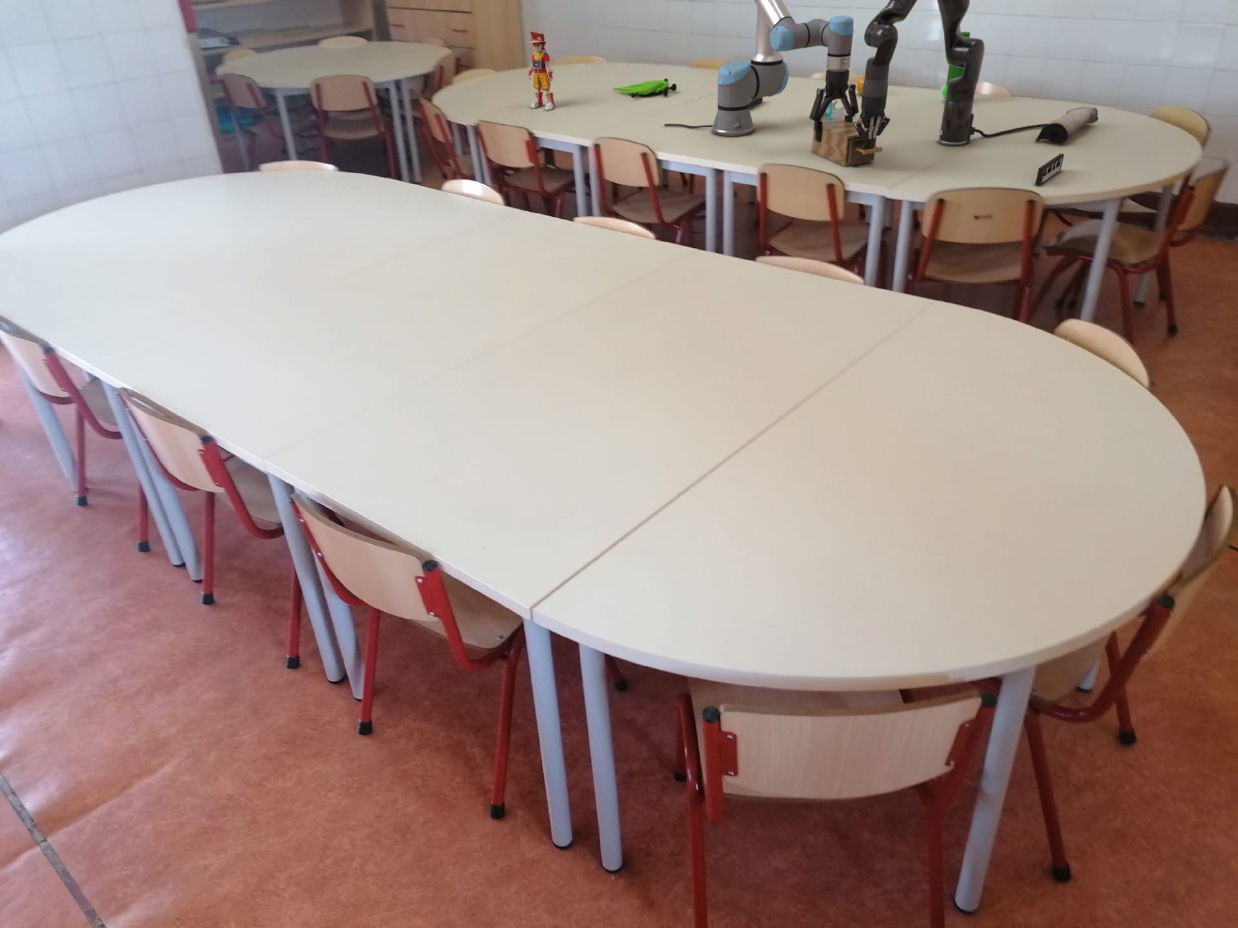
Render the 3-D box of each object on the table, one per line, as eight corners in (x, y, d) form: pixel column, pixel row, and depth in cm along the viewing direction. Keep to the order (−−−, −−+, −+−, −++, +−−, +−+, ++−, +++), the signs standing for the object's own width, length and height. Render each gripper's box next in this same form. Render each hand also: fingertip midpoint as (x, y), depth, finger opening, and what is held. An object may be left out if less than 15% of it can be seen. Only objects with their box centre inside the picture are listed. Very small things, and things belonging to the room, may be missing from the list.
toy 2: (686, 85, 398) (631, 84, 414) (685, 72, 395) (629, 72, 411) (651, 104, 381) (596, 103, 397) (650, 92, 378) (594, 91, 394)
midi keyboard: (1039, 185, 269) (1043, 168, 266) (1035, 184, 270) (1038, 168, 267) (1060, 170, 279) (1064, 154, 277) (1056, 169, 280) (1060, 153, 277)
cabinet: (871, 161, 298) (874, 131, 292) (844, 166, 295) (847, 136, 289) (837, 147, 313) (840, 118, 308) (811, 151, 310) (813, 123, 305)
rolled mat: (1064, 112, 323) (1089, 94, 314) (1078, 133, 323) (1104, 116, 315) (1031, 135, 305) (1057, 117, 297) (1046, 157, 306) (1072, 140, 298)
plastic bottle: (973, 101, 354) (984, 32, 339) (955, 106, 349) (966, 36, 335) (952, 97, 361) (962, 29, 346) (934, 102, 356) (944, 33, 342)
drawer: (884, 164, 291) (886, 140, 287) (859, 169, 289) (862, 145, 284) (842, 146, 310) (844, 124, 305) (818, 151, 307) (820, 128, 303)
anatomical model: (812, 91, 345) (837, 84, 345) (815, 118, 351) (840, 111, 351) (822, 101, 333) (849, 93, 332) (825, 128, 339) (851, 121, 338)
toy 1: (525, 109, 381) (517, 32, 364) (534, 104, 388) (527, 28, 371) (550, 110, 377) (543, 32, 360) (559, 105, 384) (553, 28, 367)
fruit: (851, 87, 368) (863, 69, 365) (853, 91, 376) (865, 73, 373) (868, 99, 367) (880, 81, 364) (870, 102, 374) (882, 84, 371)
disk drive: (747, 111, 360) (763, 102, 370) (747, 104, 359) (763, 95, 369) (724, 109, 365) (740, 100, 375) (724, 101, 363) (740, 93, 373)
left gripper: (813, 76, 287) (808, 146, 300) (874, 66, 294) (867, 136, 306) (801, 71, 293) (797, 141, 306) (861, 63, 300) (854, 131, 312)
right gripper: (863, 98, 274) (857, 156, 284) (899, 93, 278) (892, 150, 288) (849, 94, 280) (844, 150, 290) (885, 88, 284) (878, 144, 294)
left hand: (832, 138), depth 306 cm, fingers closed on cabinet, 11 cm apart
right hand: (868, 150), depth 289 cm, fingers closed
